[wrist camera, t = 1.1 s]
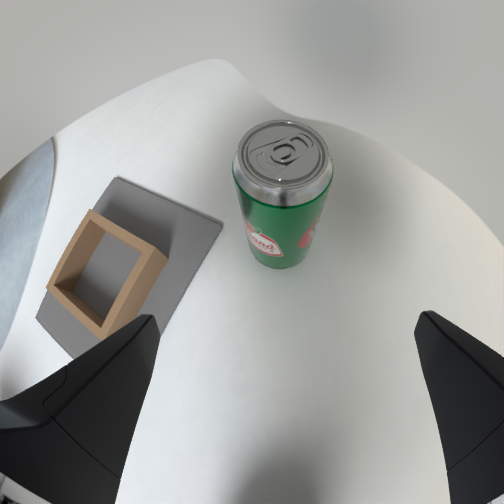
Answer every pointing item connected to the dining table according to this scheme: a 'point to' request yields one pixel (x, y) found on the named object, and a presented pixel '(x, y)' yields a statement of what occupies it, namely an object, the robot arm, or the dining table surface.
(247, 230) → the soda can
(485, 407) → the robot arm
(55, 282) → the can holder
